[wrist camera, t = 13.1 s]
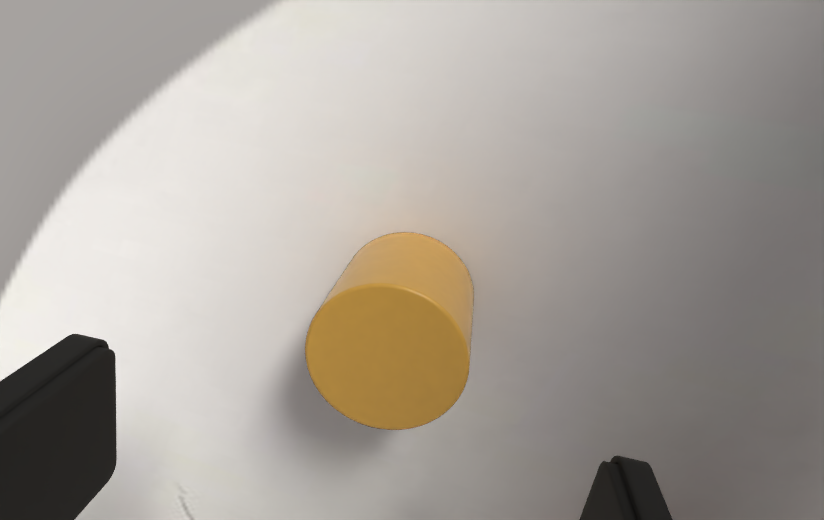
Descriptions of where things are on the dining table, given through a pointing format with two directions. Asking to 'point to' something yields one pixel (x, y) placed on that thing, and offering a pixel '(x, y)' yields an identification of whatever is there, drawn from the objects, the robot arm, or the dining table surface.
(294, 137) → the dining table surface
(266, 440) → the dining table surface
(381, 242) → the pod
